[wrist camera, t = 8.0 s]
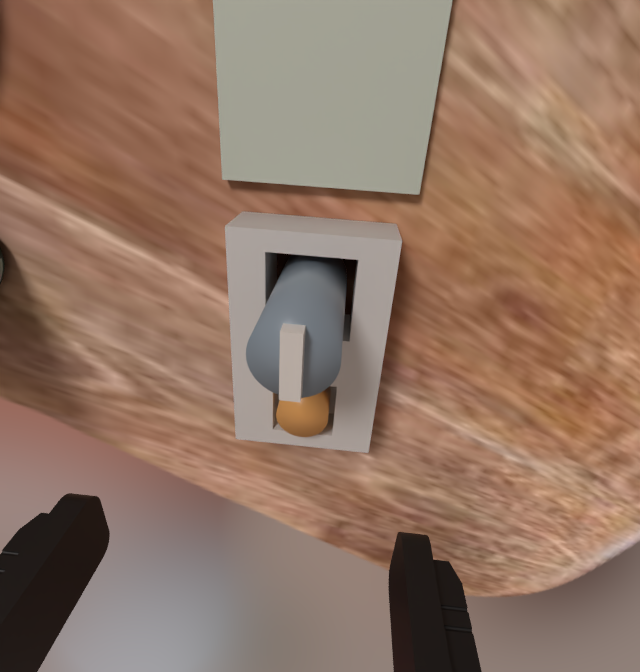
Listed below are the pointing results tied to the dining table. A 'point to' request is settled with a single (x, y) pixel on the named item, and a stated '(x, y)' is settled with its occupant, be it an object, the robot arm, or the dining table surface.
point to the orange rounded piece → (305, 414)
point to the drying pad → (328, 90)
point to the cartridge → (301, 329)
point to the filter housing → (359, 328)
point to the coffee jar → (1, 266)
